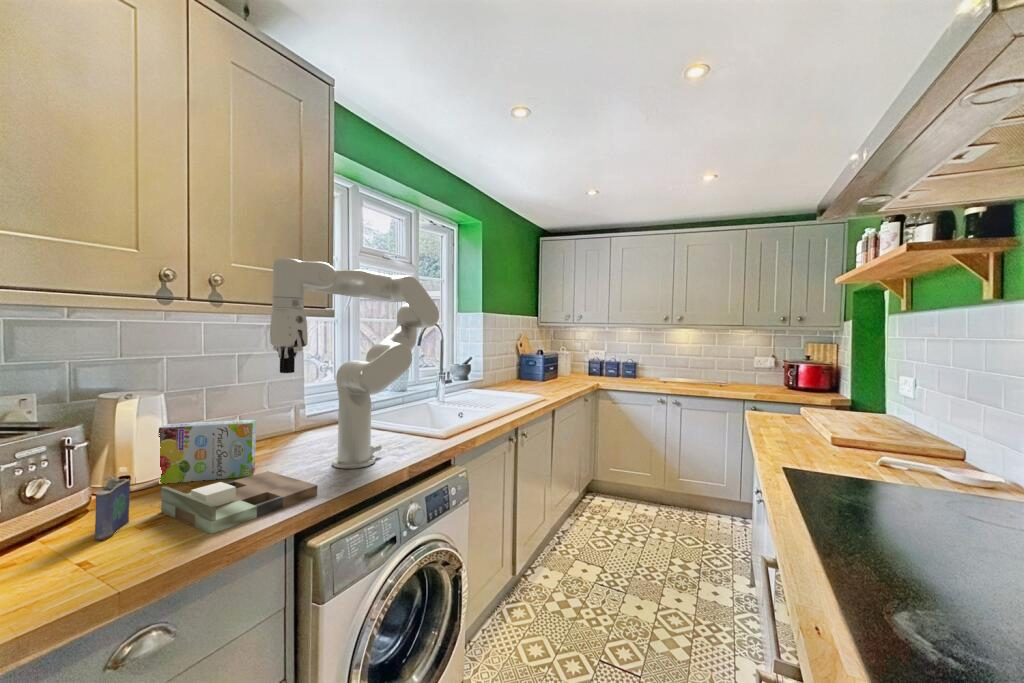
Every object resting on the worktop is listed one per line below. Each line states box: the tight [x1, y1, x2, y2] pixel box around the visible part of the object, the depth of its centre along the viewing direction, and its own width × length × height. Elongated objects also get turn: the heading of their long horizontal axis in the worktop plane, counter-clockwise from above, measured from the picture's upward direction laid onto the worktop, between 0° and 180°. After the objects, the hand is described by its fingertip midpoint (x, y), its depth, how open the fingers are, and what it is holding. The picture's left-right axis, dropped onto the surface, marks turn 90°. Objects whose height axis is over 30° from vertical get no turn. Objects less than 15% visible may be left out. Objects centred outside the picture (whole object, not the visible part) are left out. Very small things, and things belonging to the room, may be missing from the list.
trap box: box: [160, 470, 318, 535], centre depth 99 cm, size 24×20×6 cm
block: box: [190, 481, 236, 506], centre depth 94 cm, size 6×6×3 cm
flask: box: [94, 476, 131, 542], centre depth 85 cm, size 9×3×11 cm, turn 20°
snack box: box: [158, 419, 257, 485], centre depth 116 cm, size 21×6×15 cm, turn 111°
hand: (287, 372), depth 116 cm, fingers closed
